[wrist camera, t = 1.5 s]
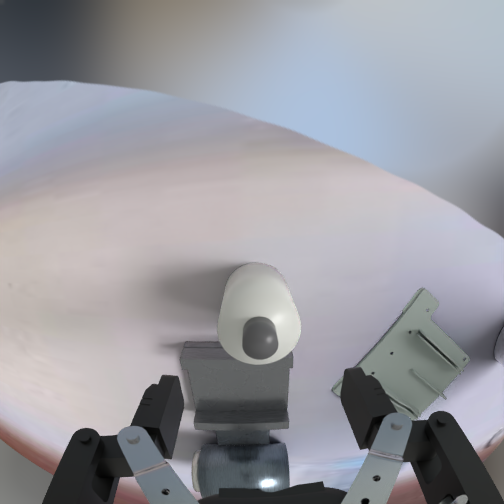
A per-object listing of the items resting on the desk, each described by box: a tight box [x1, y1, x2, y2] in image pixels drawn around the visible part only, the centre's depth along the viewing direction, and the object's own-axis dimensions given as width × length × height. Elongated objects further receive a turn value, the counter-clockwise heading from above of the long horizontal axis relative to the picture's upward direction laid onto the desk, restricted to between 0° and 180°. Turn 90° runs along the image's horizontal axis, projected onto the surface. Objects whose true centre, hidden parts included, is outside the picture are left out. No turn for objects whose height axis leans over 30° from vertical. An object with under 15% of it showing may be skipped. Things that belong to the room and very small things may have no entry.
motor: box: [180, 342, 293, 498], centre depth 24 cm, size 11×22×10 cm, turn 2°
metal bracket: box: [332, 288, 470, 421], centre depth 27 cm, size 14×6×15 cm
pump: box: [217, 263, 301, 365], centre depth 21 cm, size 6×6×9 cm
